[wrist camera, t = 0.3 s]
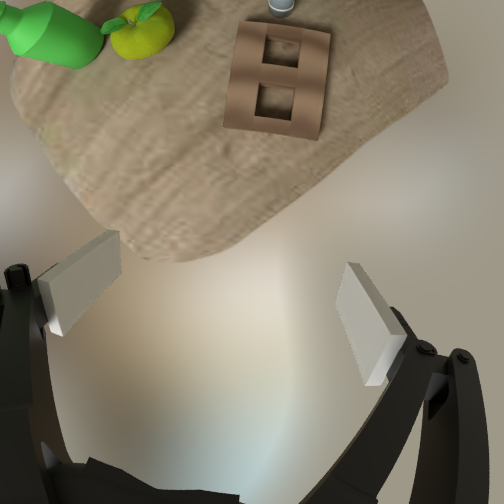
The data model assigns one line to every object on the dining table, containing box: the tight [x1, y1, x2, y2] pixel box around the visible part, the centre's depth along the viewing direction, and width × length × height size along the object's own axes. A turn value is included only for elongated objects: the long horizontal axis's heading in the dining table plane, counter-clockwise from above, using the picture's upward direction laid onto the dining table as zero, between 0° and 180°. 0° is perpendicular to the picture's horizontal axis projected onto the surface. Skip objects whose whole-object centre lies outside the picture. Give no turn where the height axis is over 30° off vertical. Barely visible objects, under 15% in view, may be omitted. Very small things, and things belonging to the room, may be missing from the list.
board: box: [223, 21, 330, 141], centre depth 33 cm, size 17×13×2 cm
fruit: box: [100, 1, 175, 60], centre depth 27 cm, size 9×9×10 cm
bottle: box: [0, 1, 104, 69], centre depth 20 cm, size 9×9×25 cm
